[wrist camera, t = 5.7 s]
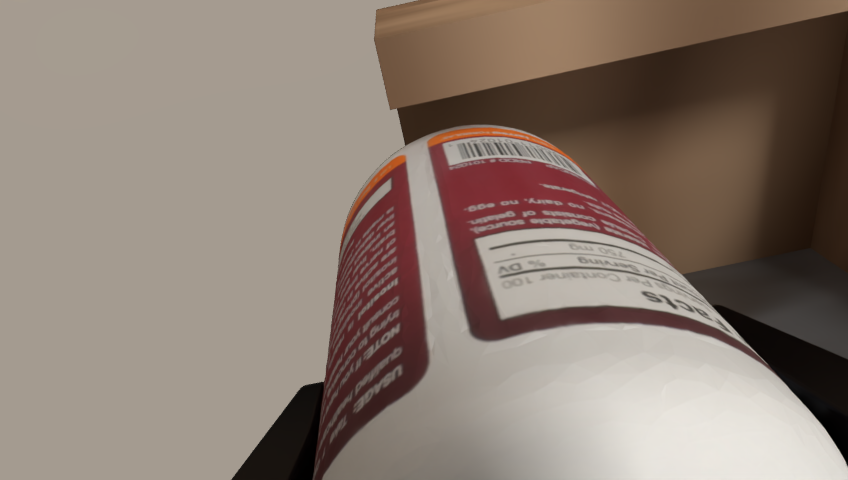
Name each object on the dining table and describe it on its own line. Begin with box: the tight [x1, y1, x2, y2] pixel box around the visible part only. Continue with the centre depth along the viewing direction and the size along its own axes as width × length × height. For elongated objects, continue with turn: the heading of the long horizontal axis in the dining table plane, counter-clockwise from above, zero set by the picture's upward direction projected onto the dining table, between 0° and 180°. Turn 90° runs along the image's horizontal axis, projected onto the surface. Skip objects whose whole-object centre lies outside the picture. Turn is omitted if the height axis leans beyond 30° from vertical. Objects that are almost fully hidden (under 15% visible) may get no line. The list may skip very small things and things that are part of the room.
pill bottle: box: [313, 125, 848, 480], centre depth 8 cm, size 6×6×11 cm
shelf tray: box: [374, 0, 848, 359], centre depth 14 cm, size 13×14×6 cm
